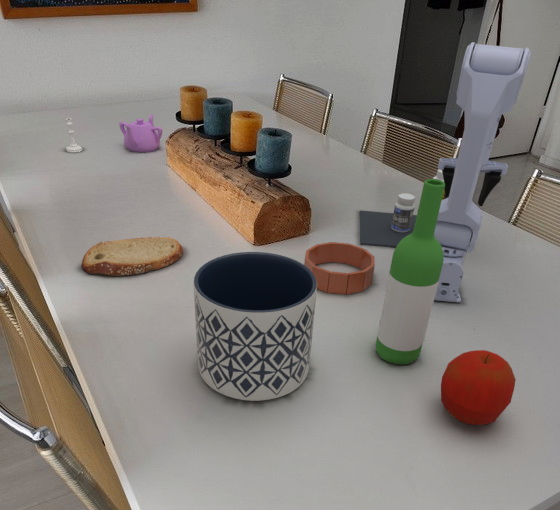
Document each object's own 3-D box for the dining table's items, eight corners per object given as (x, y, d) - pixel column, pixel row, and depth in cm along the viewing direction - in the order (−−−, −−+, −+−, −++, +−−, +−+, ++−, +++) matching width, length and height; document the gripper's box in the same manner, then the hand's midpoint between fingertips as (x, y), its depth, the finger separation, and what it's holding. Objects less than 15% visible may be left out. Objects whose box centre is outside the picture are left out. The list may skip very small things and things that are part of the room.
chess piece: (65, 148, 174) (58, 114, 168) (81, 147, 176) (75, 113, 170) (67, 153, 171) (60, 118, 165) (83, 151, 173) (77, 117, 166)
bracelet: (372, 297, 110) (375, 277, 107) (301, 290, 110) (302, 270, 108) (370, 264, 121) (373, 245, 118) (306, 258, 122) (307, 239, 119)
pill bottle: (388, 230, 135) (394, 196, 130) (394, 223, 138) (400, 191, 133) (406, 234, 133) (413, 201, 128) (412, 228, 137) (419, 195, 131)
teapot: (128, 155, 172) (124, 125, 166) (120, 143, 182) (116, 114, 176) (165, 152, 176) (163, 123, 170) (155, 140, 186) (153, 112, 180)
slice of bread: (189, 249, 123) (188, 233, 120) (153, 286, 109) (151, 269, 107) (117, 236, 126) (114, 221, 124) (74, 271, 112) (70, 255, 110)
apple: (488, 392, 88) (511, 333, 80) (511, 437, 80) (538, 376, 72) (427, 392, 87) (443, 332, 80) (444, 437, 79) (464, 375, 72)
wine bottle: (425, 350, 96) (469, 180, 77) (410, 372, 91) (454, 196, 72) (384, 335, 99) (417, 168, 80) (367, 357, 94) (398, 183, 75)
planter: (176, 364, 90) (167, 275, 79) (257, 324, 100) (259, 241, 90) (249, 420, 80) (251, 327, 70) (331, 370, 90) (342, 283, 80)
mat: (445, 252, 128) (446, 250, 127) (360, 244, 129) (360, 242, 128) (435, 218, 143) (436, 217, 143) (359, 211, 144) (360, 210, 144)
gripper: (509, 138, 118) (491, 199, 127) (442, 133, 119) (429, 194, 128) (517, 147, 113) (497, 211, 121) (446, 142, 114) (432, 205, 122)
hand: (462, 203), depth 124 cm, fingers open, 7 cm apart
